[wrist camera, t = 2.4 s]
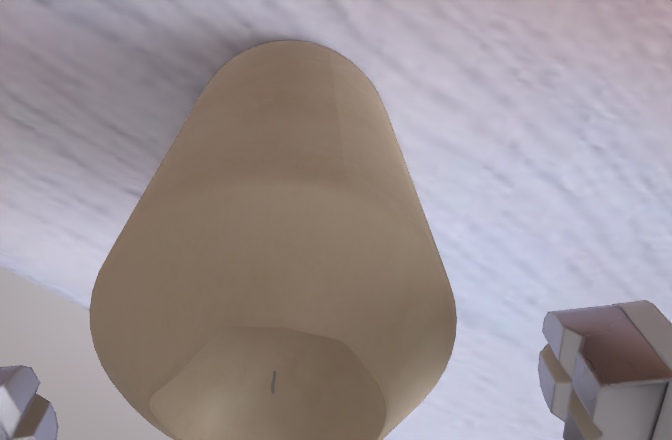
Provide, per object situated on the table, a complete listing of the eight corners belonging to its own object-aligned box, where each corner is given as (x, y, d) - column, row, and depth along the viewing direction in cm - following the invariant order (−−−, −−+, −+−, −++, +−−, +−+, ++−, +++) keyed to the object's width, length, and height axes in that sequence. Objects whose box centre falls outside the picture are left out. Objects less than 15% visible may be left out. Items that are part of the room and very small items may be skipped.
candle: (174, 183, 16) (20, 503, 8) (228, 3, 14) (87, 171, 5) (343, 239, 17) (375, 567, 9) (420, 83, 15) (571, 327, 6)
